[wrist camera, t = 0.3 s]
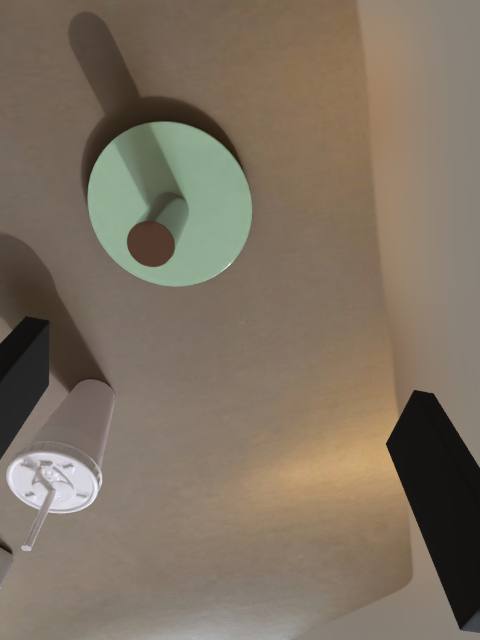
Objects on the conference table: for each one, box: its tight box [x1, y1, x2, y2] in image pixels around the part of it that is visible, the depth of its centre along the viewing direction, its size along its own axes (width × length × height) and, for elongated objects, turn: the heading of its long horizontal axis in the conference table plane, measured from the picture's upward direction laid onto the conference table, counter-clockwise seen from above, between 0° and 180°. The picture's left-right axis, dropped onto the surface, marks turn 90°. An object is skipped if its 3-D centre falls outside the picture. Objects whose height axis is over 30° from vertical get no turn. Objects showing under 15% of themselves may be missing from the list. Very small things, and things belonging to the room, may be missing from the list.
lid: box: [87, 121, 252, 286], centre depth 27 cm, size 11×11×8 cm
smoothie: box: [6, 379, 115, 551], centre depth 32 cm, size 6×6×14 cm
